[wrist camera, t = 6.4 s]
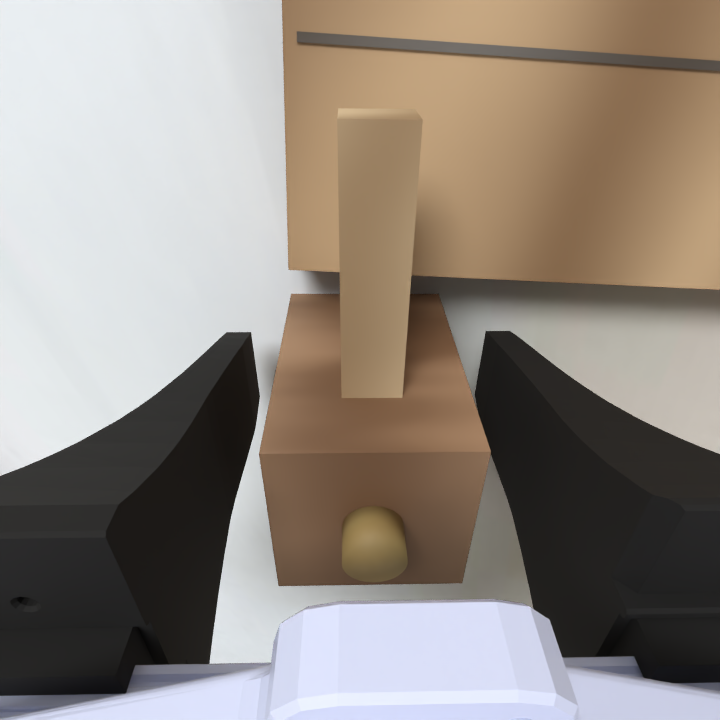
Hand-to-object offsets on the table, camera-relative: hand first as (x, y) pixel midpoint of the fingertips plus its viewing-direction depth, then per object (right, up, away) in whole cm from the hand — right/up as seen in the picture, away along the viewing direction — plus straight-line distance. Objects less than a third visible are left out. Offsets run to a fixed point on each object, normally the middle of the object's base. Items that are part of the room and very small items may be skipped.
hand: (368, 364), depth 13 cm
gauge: (0, +2, 0) cm, 2 cm away
